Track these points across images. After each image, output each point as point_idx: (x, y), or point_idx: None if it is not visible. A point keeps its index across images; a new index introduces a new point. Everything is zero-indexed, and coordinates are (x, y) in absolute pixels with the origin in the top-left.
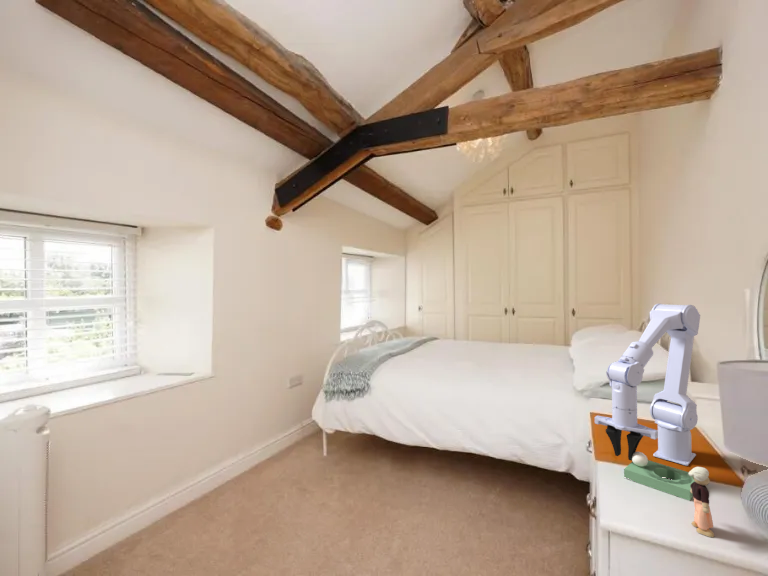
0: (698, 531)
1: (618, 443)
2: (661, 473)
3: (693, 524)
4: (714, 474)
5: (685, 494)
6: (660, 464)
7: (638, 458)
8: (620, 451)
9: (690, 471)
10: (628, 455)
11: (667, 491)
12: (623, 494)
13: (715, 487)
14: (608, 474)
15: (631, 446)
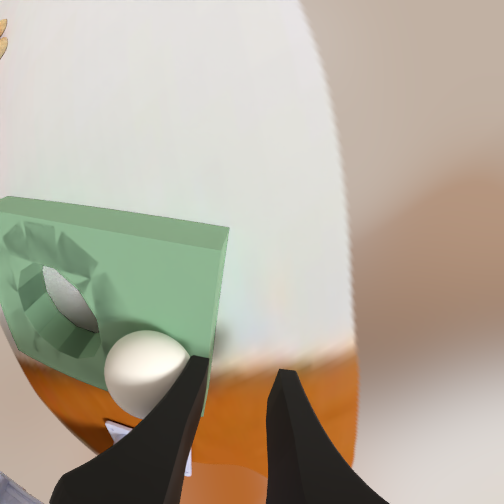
0: (3, 20)
1: (279, 455)
2: (100, 341)
3: (3, 38)
4: (58, 397)
5: (2, 202)
6: None
7: (132, 360)
8: (268, 411)
9: None
10: (201, 378)
11: (48, 203)
12: (199, 26)
13: None
14: (316, 221)
15: (149, 438)
